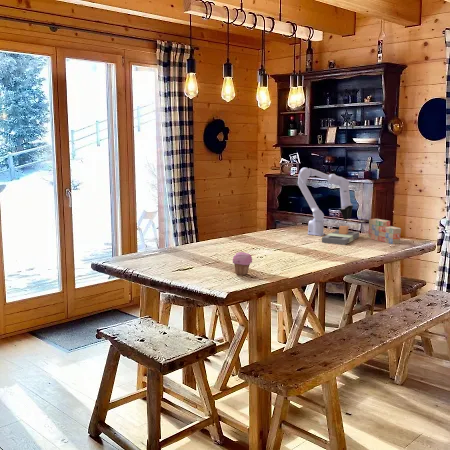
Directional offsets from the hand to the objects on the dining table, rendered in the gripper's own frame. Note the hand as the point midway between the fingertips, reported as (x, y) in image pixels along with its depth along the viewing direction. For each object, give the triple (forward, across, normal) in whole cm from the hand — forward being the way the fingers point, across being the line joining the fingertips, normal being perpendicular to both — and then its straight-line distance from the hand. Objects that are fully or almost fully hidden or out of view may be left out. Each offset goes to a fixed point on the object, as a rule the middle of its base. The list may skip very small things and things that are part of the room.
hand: (347, 218), depth 342 cm
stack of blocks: (+14, -5, -23) cm, 27 cm away
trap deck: (+10, -17, 0) cm, 20 cm away
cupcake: (+2, -126, +12) cm, 126 cm away
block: (+7, -12, 0) cm, 14 cm away
